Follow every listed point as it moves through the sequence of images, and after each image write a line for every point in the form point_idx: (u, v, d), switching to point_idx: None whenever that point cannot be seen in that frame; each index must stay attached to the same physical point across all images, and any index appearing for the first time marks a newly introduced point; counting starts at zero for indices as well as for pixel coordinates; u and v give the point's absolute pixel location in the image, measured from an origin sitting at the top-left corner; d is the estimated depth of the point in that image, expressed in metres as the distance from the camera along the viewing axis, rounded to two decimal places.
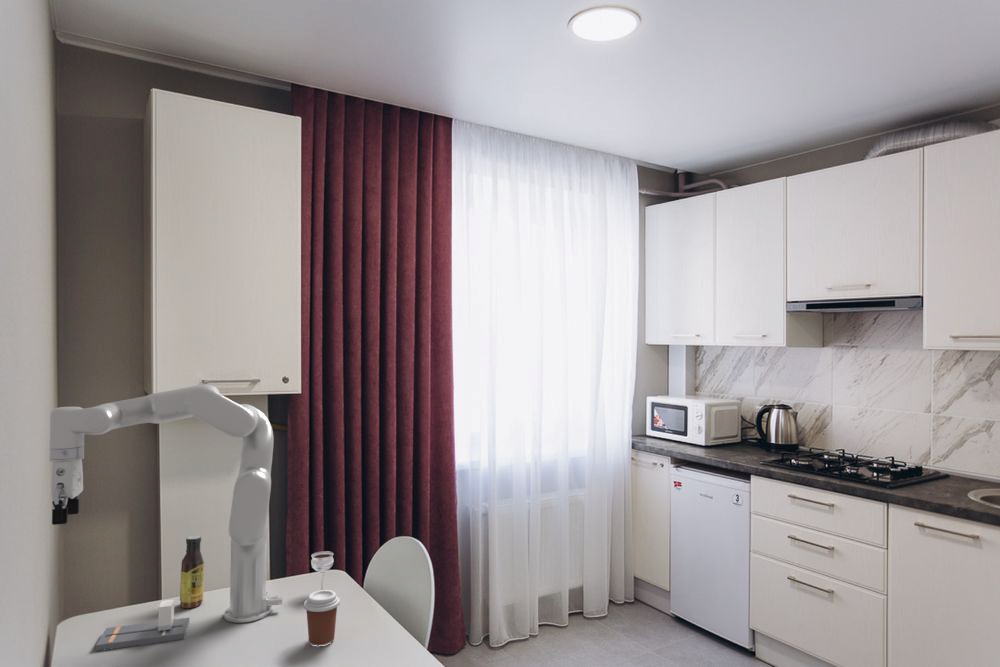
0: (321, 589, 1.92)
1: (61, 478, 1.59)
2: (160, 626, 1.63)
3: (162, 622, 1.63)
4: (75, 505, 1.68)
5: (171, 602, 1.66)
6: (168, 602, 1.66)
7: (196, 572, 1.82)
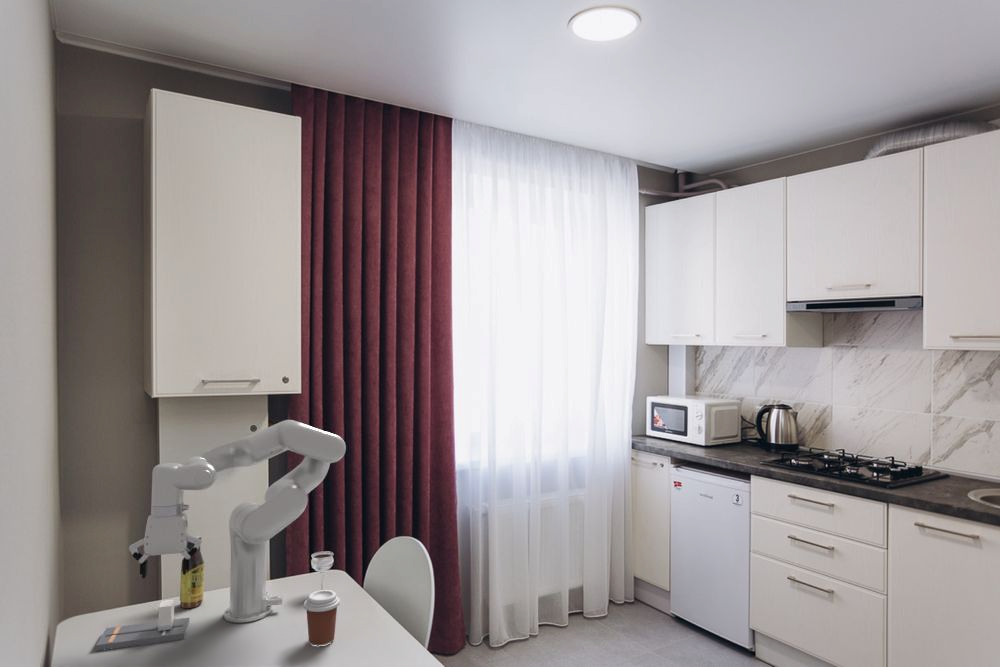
0: (321, 589, 1.92)
1: (187, 529, 1.67)
2: (160, 626, 1.63)
3: (162, 622, 1.63)
4: (147, 566, 1.65)
5: (171, 602, 1.66)
6: (168, 602, 1.66)
7: (196, 572, 1.82)
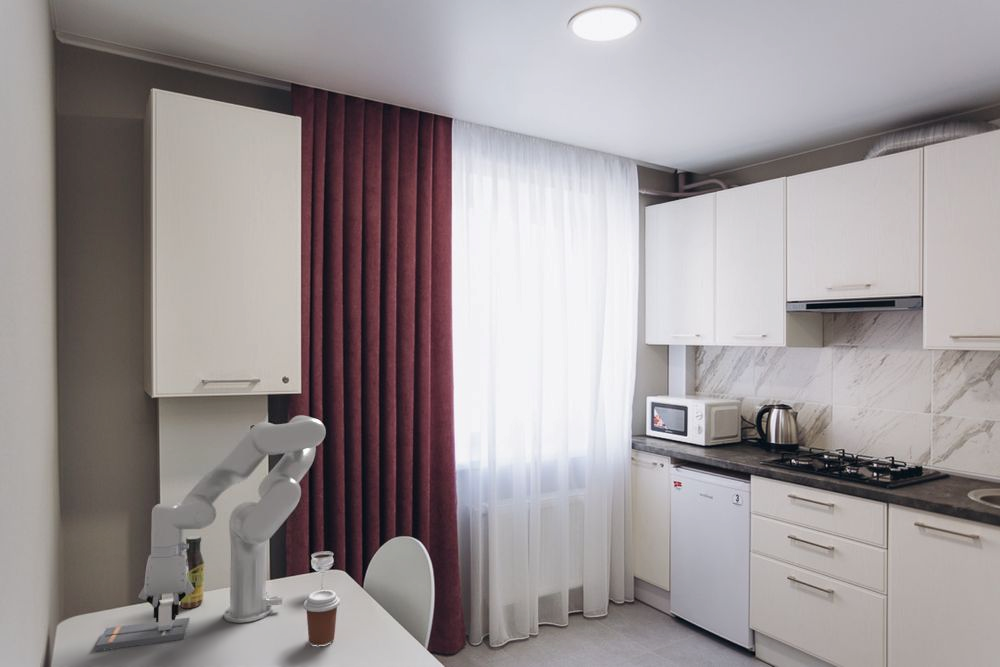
0: (321, 589, 1.92)
1: (187, 568, 1.67)
2: (160, 626, 1.63)
3: (162, 622, 1.63)
4: None
5: (171, 602, 1.66)
6: (168, 602, 1.66)
7: (196, 572, 1.82)
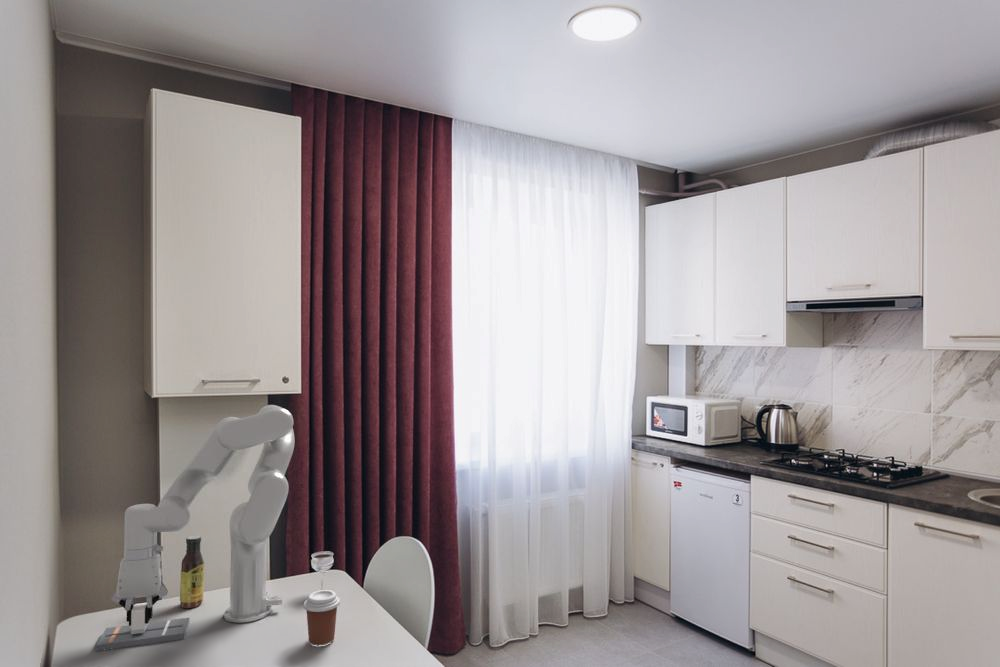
0: (321, 589, 1.92)
1: (161, 570, 1.65)
2: (133, 630, 1.61)
3: (135, 626, 1.61)
4: None
5: (144, 605, 1.64)
6: (142, 605, 1.64)
7: (196, 572, 1.82)
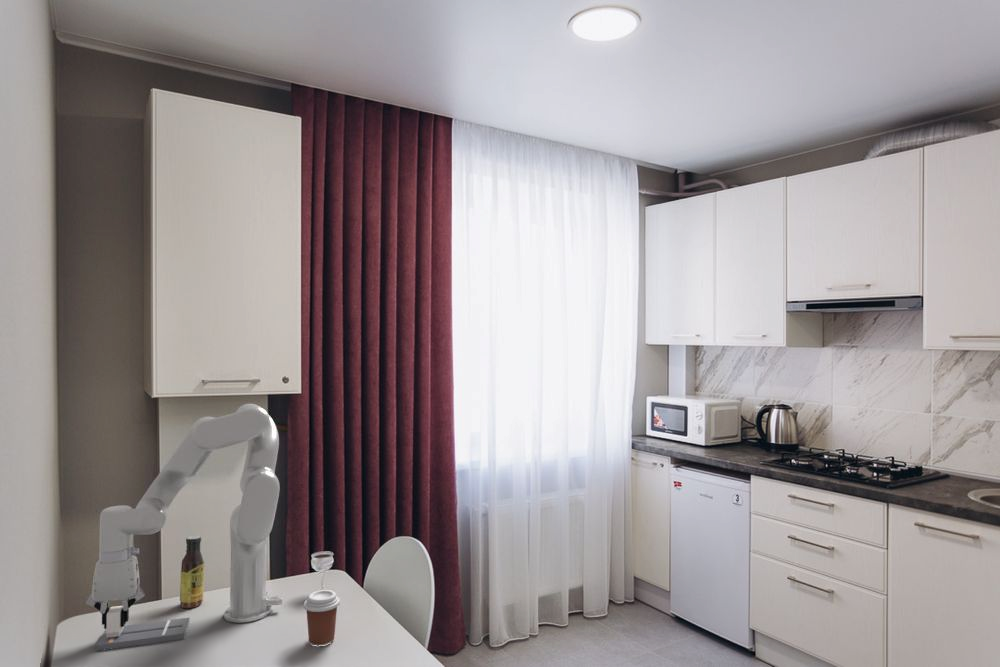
0: (321, 589, 1.92)
1: (137, 573, 1.63)
2: (108, 633, 1.59)
3: (110, 629, 1.59)
4: None
5: (120, 608, 1.62)
6: (118, 608, 1.62)
7: (196, 572, 1.82)
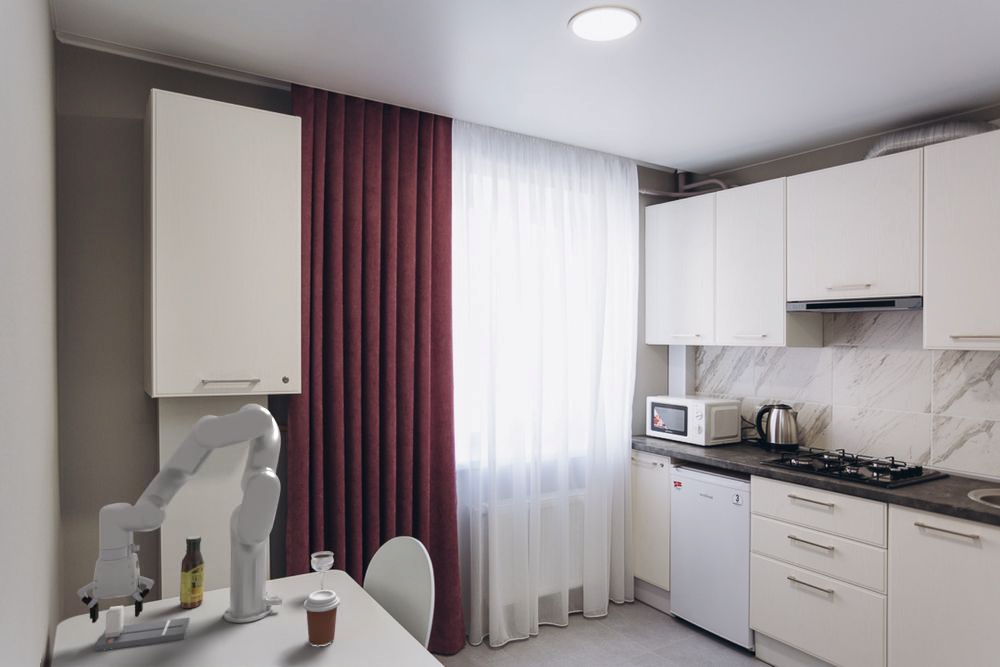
0: (321, 589, 1.92)
1: (138, 570, 1.63)
2: (107, 633, 1.59)
3: (109, 629, 1.59)
4: (98, 609, 1.61)
5: (120, 608, 1.62)
6: (117, 608, 1.62)
7: (196, 572, 1.82)
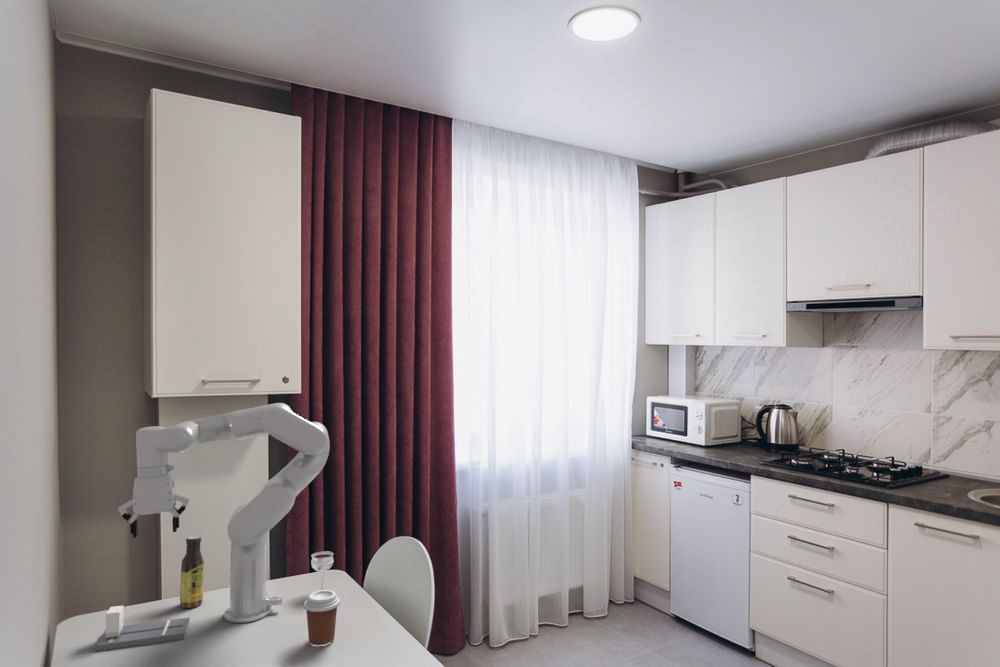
0: (321, 589, 1.92)
1: (174, 489, 1.73)
2: (107, 633, 1.59)
3: (109, 629, 1.59)
4: (137, 526, 1.70)
5: (120, 608, 1.62)
6: (117, 608, 1.62)
7: (196, 572, 1.82)
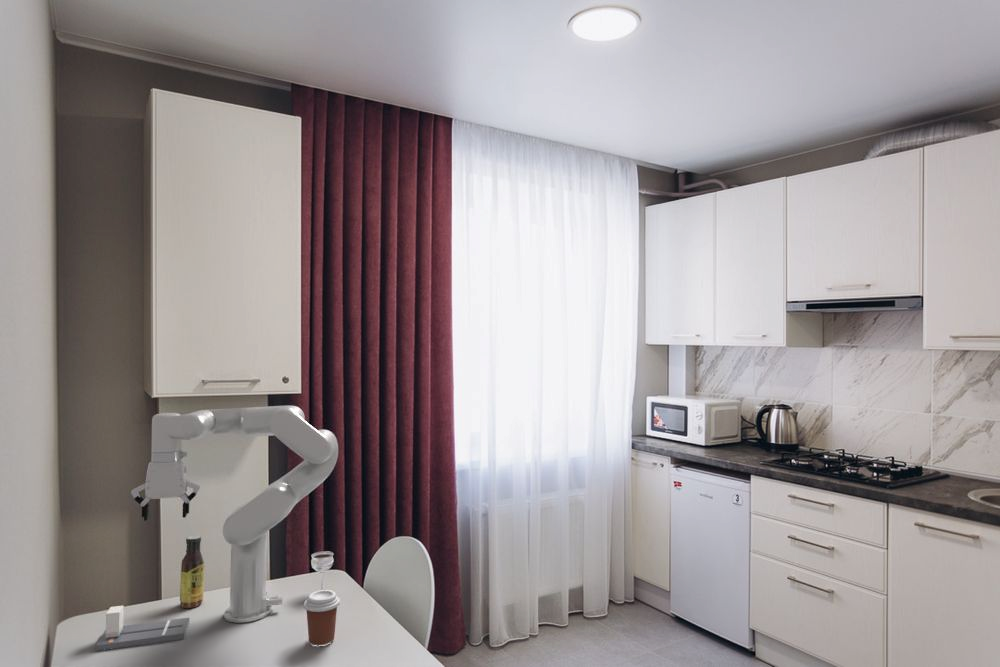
0: (321, 589, 1.92)
1: (186, 475, 1.77)
2: (107, 633, 1.59)
3: (109, 629, 1.59)
4: (148, 509, 1.74)
5: (120, 608, 1.62)
6: (117, 608, 1.62)
7: (196, 572, 1.82)
